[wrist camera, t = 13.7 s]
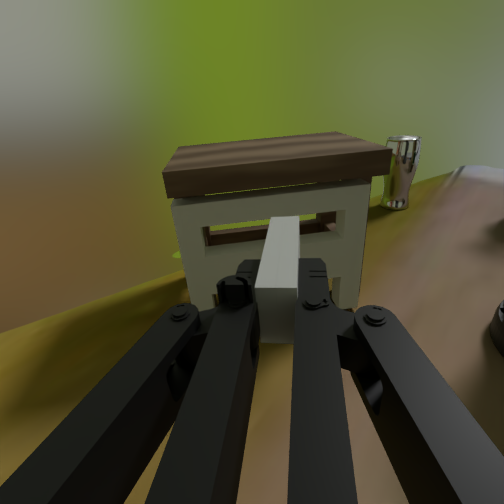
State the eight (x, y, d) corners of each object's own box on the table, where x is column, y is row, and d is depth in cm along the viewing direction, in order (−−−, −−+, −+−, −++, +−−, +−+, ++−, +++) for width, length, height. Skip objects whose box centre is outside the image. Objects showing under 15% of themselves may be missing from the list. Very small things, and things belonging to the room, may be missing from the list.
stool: (370, 312, 38) (392, 148, 29) (197, 336, 37) (161, 172, 28) (329, 255, 52) (335, 131, 43) (201, 271, 51) (178, 146, 41)
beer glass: (378, 200, 74) (386, 135, 67) (410, 201, 72) (422, 134, 65) (376, 209, 69) (385, 140, 62) (410, 212, 66) (423, 139, 59)
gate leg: (357, 307, 39) (370, 184, 31) (196, 330, 37) (170, 206, 30) (349, 295, 41) (360, 178, 34) (197, 317, 39) (173, 199, 32)
